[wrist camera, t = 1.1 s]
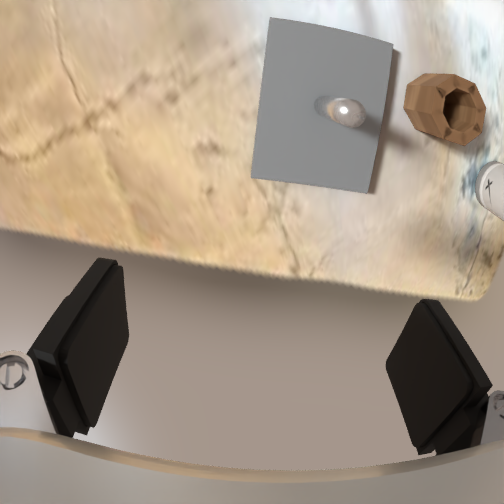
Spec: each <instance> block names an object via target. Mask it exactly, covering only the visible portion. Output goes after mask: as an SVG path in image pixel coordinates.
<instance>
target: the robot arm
mask: <svg viewBox="0 0 504 504" xmlns="http://www.w3.org/2000/svg"><path fill="white" fill-rule="evenodd" d="M128 338H129V329H128V321H127V311H126V301H125V288H124V275H123V267H122V266H118V263H117V261H116V260H112V259H105V258H98V259H97V260H96V261H95V262H94V263H93V265H92V266H91V267H90V268H89V270H88V271H87V272H86V274H85V275H84V276H83V278H82V279H81V280H80V282H79V283H78V284H77V286H76V287H75V288H74V289H73V291H72V292H71V294H70V295H69V296H67V297H66V298H65V299H64V300H63V301H62V303H61V304H60V305H59V307H58V308H57V310H56V311H55V312H54V314H53V315H52V317H51V318H50V320H49V321H48V322H47V324H46V325H45V327H44V328H43V330H42V331H41V333H40V334H39V336H38V337H37V339H36V340H35V342H34V343H33V345H32V346H31V348H30V349H29V351H28V352H27V354H24V353H22V352H20V351H6V352H3V353H1V354H0V504H504V391H499V390H497V391H494V392H493V393H492V394H491V395H490V396H488V394H487V392H488V391H489V390H490V388H491V387H492V383H491V382H490V380H489V378H488V376H487V375H486V373H485V371H484V370H483V368H482V366H481V365H480V363H479V361H478V360H477V358H476V357H475V355H474V353H473V352H472V350H471V349H470V347H469V345H468V344H467V342H466V341H465V339H464V337H463V336H462V334H461V333H460V331H459V330H458V328H457V327H456V326H455V324H454V322H453V321H452V319H451V318H450V316H449V315H448V313H447V312H446V311H445V309H444V308H443V307H442V305H441V303H440V302H439V301H437V300H431V299H422V300H421V301H420V302H419V303H417V304H416V305H415V307H414V309H413V311H412V313H411V315H410V317H409V319H408V321H407V323H406V325H405V327H404V329H403V331H402V333H401V335H400V336H399V338H398V340H397V343H396V344H395V346H394V348H393V350H392V351H391V353H390V355H389V357H388V359H387V361H386V370H387V373H388V376H389V379H390V381H391V384H392V387H393V389H394V392H395V395H396V398H397V400H398V403H399V406H400V409H401V412H402V415H403V418H404V421H405V423H406V427H407V430H408V433H409V436H410V439H411V442H412V444H413V446H414V447H416V448H417V451H418V455H422V454H427V453H431V452H432V451H434V450H435V451H436V453H437V454H436V455H435V456H432V457H427V458H422V459H417V460H411V461H405V462H399V463H392V464H384V465H376V466H368V467H358V468H346V469H330V470H302V471H301V470H299V471H298V470H296V471H287V470H286V471H285V470H254V469H238V468H226V467H215V466H207V465H199V464H191V463H184V462H178V461H172V460H165V459H161V458H155V457H150V456H145V455H139V454H135V453H130V452H126V451H121V450H117V449H113V448H109V447H105V446H101V445H97V444H94V443H89V442H86V441H81V440H78V439H74V438H73V435H74V433H75V432H78V433H81V434H84V435H87V434H88V431H89V428H90V427H95V426H96V424H97V421H98V418H99V416H100V413H101V410H102V407H103V405H104V402H105V399H106V397H107V394H108V391H109V389H110V386H111V383H112V381H113V378H114V376H115V373H116V371H117V368H118V366H119V363H120V361H121V358H122V356H123V353H124V351H125V348H126V346H127V343H128Z"/></svg>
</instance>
